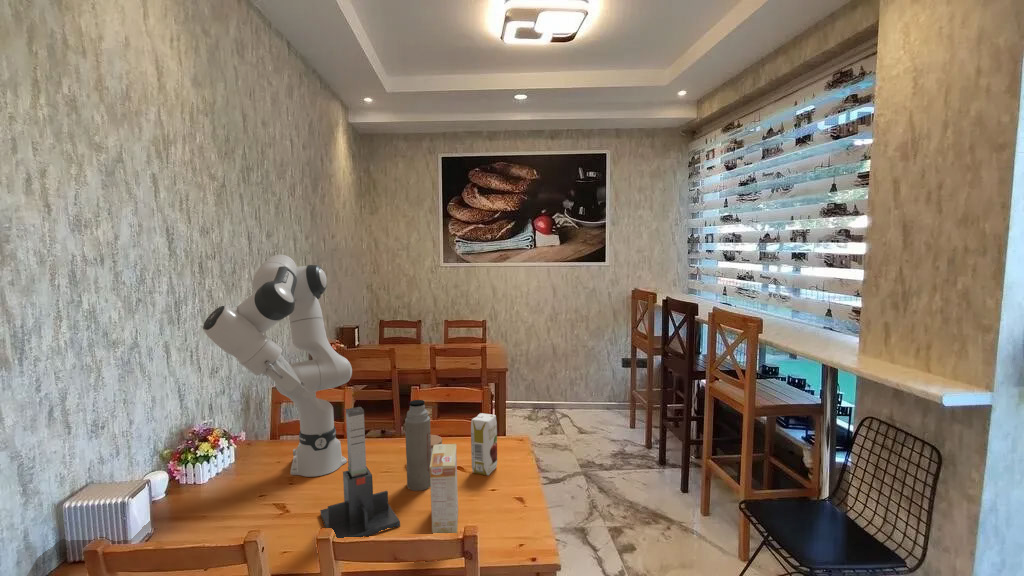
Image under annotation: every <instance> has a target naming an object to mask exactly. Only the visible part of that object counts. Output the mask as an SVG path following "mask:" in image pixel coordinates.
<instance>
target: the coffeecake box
mask: <svg viewBox="0 0 1024 576" xmlns="http://www.w3.org/2000/svg"><path fill="white" fill-rule="evenodd" d="M457 458H458V457H457V443H448V444H447V443H442V444H437V445H434V446H433V450H432V456H431V462H430V483H431V486H430V506H431V534H432V533H457V534H458V522H459V521H458V519H459V518H458V517H459V497H458V468H457V465H458V464H457V462H458V461H457Z"/></svg>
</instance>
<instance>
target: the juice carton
mask: <svg viewBox="0 0 1024 576" xmlns="http://www.w3.org/2000/svg"><path fill="white" fill-rule="evenodd" d="M470 422H471V423H470V448H471V453H470V455H471V468H472V469H471V471H472V473H474V474H478V475H483V476H490V474H492V472H493V471H495V469H496V468H497V465H498V429H497V428H498V423H497V416H496V414H491V413H490V414H489V413H482V412H479V414H477V416H475V417H473V418H472V419H471V421H470Z"/></svg>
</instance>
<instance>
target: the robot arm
mask: <svg viewBox="0 0 1024 576" xmlns="http://www.w3.org/2000/svg"><path fill="white" fill-rule="evenodd" d="M327 282H328V278H327V275H326V273H325V270H324V269H323V268H322V266H320V265H319V264H308V265H302V266H301V265H300V266H297V264H296V262H295V261H294V259H293V258H292V257H290V256H288V255H285V254H275V255H273V256H270V257H268V259H266V260H265V261H264V262H263V263H262V264H261V265H260V266H259V267H258V269H257V270H256V272H255V274H254V275H253V278H252V284H251V285H252V288H253V291H254V293H251V295H249V296H248V297H247V298H246V299H245V300H244V301H242V302H241V303H240V304H239V305H236V306H234V307H233V306H231V307H228V306H227V305H220V306H219V307H217V308H215V309H214V310H213V311H212V312H211V313H210V315H208V317H206V319H205V321H204V322H203V327H202V329H203V332H204V333H205V335H206V336H207V337H208V338H209V339H210V340H211V341H212V342H213V343H214V344H215V345H216V346H218V347H219V348H220V349H221V350H223V352H225V353H226V354H228V355H230V356H232V357H234V358H235V359H236V360H237V362H239V364H240V365H242V366H243V367H244V368H246V369H247V370H248V371H249V372H250V373H252V374H253V375H254V376H259V375H261V374H262V375H263V376H265V377H266V376H268V377H269V378H270V379H271V380H272V381H273V382H274V385H275V389H276V390H277V391H278V393H280V394H281V395H282V396H285V397H287V398H288V399H290V400H291V402H293V404H294V405H295V407H296V408H297V412H298V419H299V424H300V425H299V429H300V430H299V432H298V433H299V435H298V439H299V440H298V441H299V443H298V444H297V445H298V446H297V447H296V448H294V449H292V455H293V458H292V462H291V466H290V475H291V476H301V477H309V478H312V477H319V476H325V475H328V474H330V473H333V472H335V471H338V469H339V468H340V467H341V466H343V465H345V464H346V463H348V458H346V457H345V456H343V455H342V453H343V452H342V444H341V440H339V439H338V438H337V437H336V436H337V435H336V433H337V430H336V426H335V422H334V421H335V419H334V418H335V417H334V416H335V414H334V407H333V405H332V404H331V403H330V402H329V401H328V400H325V399H322V398H317V396H316V395H317V392H320V391H323V390H324V391H325V390H329V389H334V388H337V387H339V386H343V385H344V384H347V383H348V382H349V381H350V380H351V378H352V375H353V368H352V364H351V362H350V361H349V360H348V359H347V358H346V357H344V356H343V355H341V354H340V353H338V352H337V351H336V350H335V348H333V347H332V345H331V344H330V342H329V339H328V336H327V332H326V328H325V322H324V316H323V312H322V311H323V310H322V307H321V303H320V300H319V299H320V298H321V297H322V295H323V294H324V293H325V292H326V289H327V286H328V284H327ZM287 317H289V327H290V333H291V340H292V344H293V345H294V347H295V348H296V349H299V350H300V351H304V352H307V353H308V354H309V355H310V356H311V358H312V359H311V360H304V361H297V362H293V363H289V362H288V361H287V360H286V359H285V358H284V356H283V355H282V352H283V348H282V347H280V346H279V345H278V344H277V343H275V341H274V340H272V339H271V338H270V337H268V336H267V335H265V333H266V332H268V331H269V330H270V329H272V327H274V326H275V325H277V324H278V323H279V322H281V321H282V320H284V319H285V318H287Z"/></svg>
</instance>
